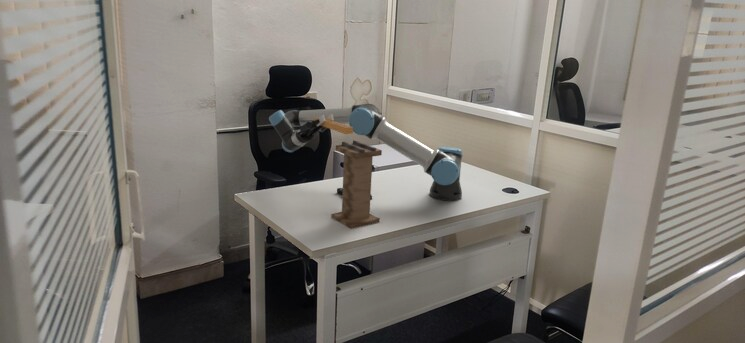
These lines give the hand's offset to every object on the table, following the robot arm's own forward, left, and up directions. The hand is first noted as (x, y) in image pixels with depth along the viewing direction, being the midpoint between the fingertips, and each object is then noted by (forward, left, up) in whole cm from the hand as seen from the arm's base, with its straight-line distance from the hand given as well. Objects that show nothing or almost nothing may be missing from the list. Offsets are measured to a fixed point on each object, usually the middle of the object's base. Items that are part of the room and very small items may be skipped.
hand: (328, 117), depth 223 cm
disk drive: (-10, -15, -39) cm, 43 cm away
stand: (-15, +14, -38) cm, 44 cm away
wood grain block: (-2, +2, -4) cm, 5 cm away
